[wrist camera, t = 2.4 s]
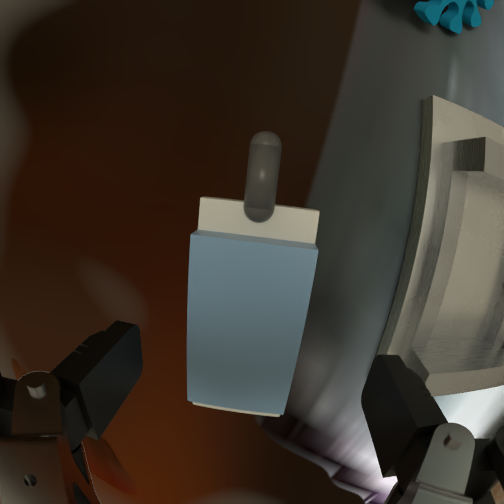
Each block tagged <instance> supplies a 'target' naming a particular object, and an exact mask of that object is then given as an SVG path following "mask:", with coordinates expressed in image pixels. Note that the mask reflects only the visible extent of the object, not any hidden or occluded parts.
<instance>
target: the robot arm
mask: <svg viewBox="0 0 504 504" xmlns="http://www.w3.org/2000/svg"><path fill="white" fill-rule="evenodd" d="M142 366H143V360H142V350H141V339H140V330H139V327H138V325H136V324H132V323H127V322H122V321H119V320H117V321H115V322H114V323H113V324H112V325H111V326H110V327H108V328H107V329H106V330H105V331H100V332H97V333H95V334H93V335H91V336H89V337H88V338H87V339H86V340H85V341H84V342H82V344H81V345H79V346H78V347H77V348H76V349H75V351H74V352H72V353H70V354H69V355H68V356H67V357H66V358H65V359H64V360H63V361H62V362H61V363H60V364H59V365H57V366H56V367H55V368H54V369H53V370H52V371H51V372H50V373H48V372H44V371H35V372H30V373H27V374H25V375H24V376H22V377H21V378H20V379H19V380H14V379H9V378H5V377H2V375H1V372H0V494H1V504H101V503H100V501H99V499H98V497H97V495H96V492H95V489H94V486H93V483H92V479H91V475H90V471H89V468H88V463H87V459H86V455H85V451H84V446H83V443H82V440H83V439H84V437H85V436H86V435H87V436H89V437H91V438H94V439H96V440H99V439H100V437H101V436H102V434H103V432H104V431H105V429H106V428H107V426H108V425H109V423H110V422H111V420H112V419H113V417H114V416H115V414H116V413H117V411H118V409H119V408H120V406H121V405H122V403H123V402H124V400H125V399H126V397H127V396H128V394H129V393H130V391H131V390H132V388H133V387H134V385H135V384H136V382H137V381H138V379H139V378H140V375H141V372H142ZM361 404H362V408H363V412H364V415H365V418H366V421H367V424H368V428H369V431H370V434H371V438H372V441H373V444H374V448H375V451H376V455H377V458H378V462H379V465H380V469H381V472H382V476H383V478H384V477H391V476H397V479H398V481H397V482H396V484H395V485H394V486H393V488H392V490H391V492H390V494H389V495H388V497H387V499H386V500H385V502H384V504H496V503H495V501H494V498H493V496H492V493H491V491H490V490H491V489H492V488H493V487H494V486H495V485H496V484H497V483H498V482H500V484H501V486H502V489H503V491H504V426H503V427H500V428H499V429H498V430H497V432H496V433H495V434H494V436H493V437H492V438H491V439H474V436H473V435H472V433H471V432H470V431H469V430H468V429H467V428H466V427H464V426H462V425H460V424H456V423H448V421H447V420H446V418H445V416H444V415H443V413H442V411H441V409H440V408H439V406H438V404H437V403H436V401H435V399H434V398H433V396H431V393H430V391H429V390H428V388H426V385H425V383H424V382H423V380H422V379H421V377H420V376H419V375H418V374H416V373H415V372H414V371H413V370H411V369H410V368H407V367H406V365H405V364H404V362H403V360H402V359H401V357H400V356H399V355H385V354H378V355H377V356H376V357H375V359H374V361H373V364H372V366H371V369H370V372H369V375H368V377H367V380H366V383H365V385H364V388H363V391H362V396H361Z"/></svg>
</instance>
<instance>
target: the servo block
mask: <svg viewBox="0 0 504 504" xmlns="http://www.w3.org/2000/svg"><path fill="white" fill-rule="evenodd" d="M280 156H281V141H280V139H279V138H278V136H277V135H276V134H274V133H272V132H269V131H263V132H259V133H257V134H256V135H255V136H254V137H253V138H252V140H251V143H250V151H249V160H248V169H247V179H246V187H245V197H244V201H243V200H234V199H224V198H214V197H202V198H200V210H199V223H198V230H197V231H195V232H194V233H192V234H191V238H190V255H189V275H188V305H187V307H188V308H187V392H188V393H187V394H188V401H192V402H193V404H194V405H199V406H204V407H209V408H215V409H221V410H227V411H234V412H241V413H248V414H256V415H265V416H275V417H279V416H280V414H282V415H283V414H284V410H285V406H286V403H287V399H288V395H289V391H290V387H291V383H292V379H293V375H294V370H295V366H296V362H297V358H298V353H299V349H300V344H301V340H302V335H303V330H304V326H305V321H306V316H307V311H308V306H309V301H310V296H311V290H312V285H313V280H314V274H315V268H316V263H317V257H318V251H319V250H318V248H317V247H316V245H315V240H316V233H317V227H318V220H319V213H320V212H319V211H318V210H315V209H308V208H300V207H293V206H285V205H277V204H275V200H276V192H277V183H278V174H279V165H280Z"/></svg>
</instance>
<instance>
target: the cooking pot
mask: <svg viewBox="0 0 504 504" xmlns="http://www.w3.org/2000/svg"><path fill="white" fill-rule="evenodd" d="M490 491H491V493H492V496H493V498H494V501H495V503H496V504H504V491H503V489H502V486H501V484H500V482H498V483H497V484H496V485H495V486H494V487H493V488H492V489H491V490H490Z"/></svg>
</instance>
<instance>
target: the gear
mask: <svg viewBox="0 0 504 504" xmlns="http://www.w3.org/2000/svg"><path fill="white" fill-rule="evenodd" d="M448 4H449V8H448V10H447V11H446V12H445V13H443V14H442V15H441V13H442V11H443V9H444V8H445V6H447V5H448ZM493 4H494V0H430V1H429V2H418V3H417V4H416V5H415V7H414V10H415V12H416V13H417V15H418V16H419V17H420V18H421V19H422V20H423V21H424V22H426V23H429V24H431V25H436V24H437V23H438V22H439V19H440V25H441V26H443V27H444V28H447V29H449V30H451V31H453V32H455V33H458V34H460V33H461V31H462V22H464V23H466V24H468V25H470V26H472V27H477V26H479V25H481V16H480V14H479V12H478V8H477V5H478V6H479V7H482V8H484V9H486V10H490V9H491V7H492V6H493ZM440 15H441V17H440Z"/></svg>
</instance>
